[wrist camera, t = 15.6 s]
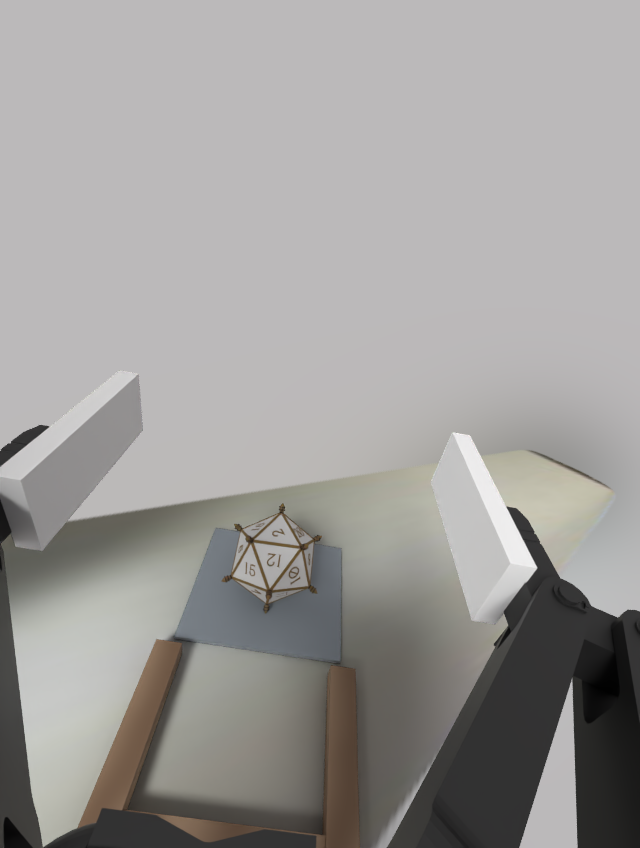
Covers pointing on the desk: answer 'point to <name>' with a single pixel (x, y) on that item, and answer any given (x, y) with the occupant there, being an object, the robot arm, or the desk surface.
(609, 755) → the robot arm
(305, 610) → the mat
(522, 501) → the desk surface
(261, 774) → the desk surface
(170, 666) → the open frame
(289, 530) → the game die
